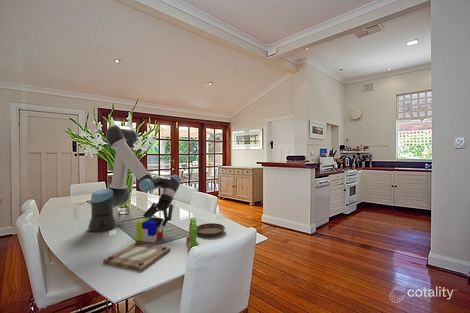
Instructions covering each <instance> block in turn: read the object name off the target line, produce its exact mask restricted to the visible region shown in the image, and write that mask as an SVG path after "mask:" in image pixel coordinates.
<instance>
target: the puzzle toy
mask: <svg viewBox="0 0 470 313" xmlns="http://www.w3.org/2000/svg"><path fill="white" fill-rule="evenodd" d="M163 219H164V217H163V218H162V217H147V218H145V217H143V219H140V220H138V221H136V241H137V242H144V243H145V242H146V243H155V242H156V241H157V240H159V239H161V237H163V235H164V228H163V229H162V231H161V232H159V231H158V228H159V226H160V224H161V222H162V220H163Z"/></svg>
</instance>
